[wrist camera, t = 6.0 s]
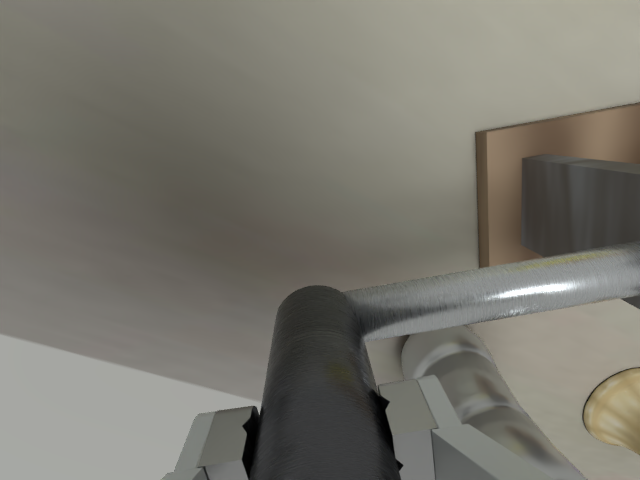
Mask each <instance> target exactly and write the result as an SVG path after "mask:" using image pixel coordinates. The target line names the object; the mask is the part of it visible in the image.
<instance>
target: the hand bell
mask: <svg viewBox="0 0 640 480" xmlns="http://www.w3.org/2000/svg"><path fill="white" fill-rule="evenodd" d="M583 418H584V423H585V426H586V428H587V430H588V432H589V433H590V434H591V435H592V436H594V437H595V438H596V439H598V440H600V441H602V442H605V443H608V444H611V445H617V446H623V447H626V448H628V449H630V450H632V451H634V452H635V453H637V454H639V455H640V368H633V369H628V370H625V371H622V372H620V373H618V374H616V375H614V376H612V377H610V378H608V379H607V380H606V381H604V382H603V383H602V384H600V385H599V386H598V387H597V388H596V390H595V391H594V392H593V393H592V394H591V396H590V398H589V400H588V401H587V403H586V406H585V409H584V415H583Z"/></svg>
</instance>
